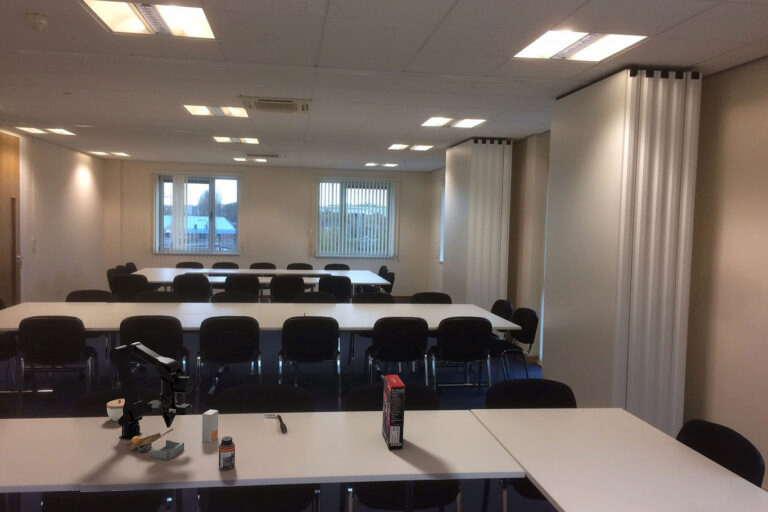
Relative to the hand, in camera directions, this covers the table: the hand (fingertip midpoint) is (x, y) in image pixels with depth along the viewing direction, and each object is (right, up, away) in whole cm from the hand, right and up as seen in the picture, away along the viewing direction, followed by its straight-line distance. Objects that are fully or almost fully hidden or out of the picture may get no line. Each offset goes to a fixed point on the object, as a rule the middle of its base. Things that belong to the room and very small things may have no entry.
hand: (168, 427), depth 215 cm
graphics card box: (+94, -9, +7) cm, 95 cm away
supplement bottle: (+31, -9, -20) cm, 38 cm away
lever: (-5, -4, -4) cm, 8 cm away
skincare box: (+16, -7, +5) cm, 18 cm away
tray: (+4, -7, -10) cm, 13 cm away
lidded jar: (-34, -5, +25) cm, 43 cm away
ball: (-11, -3, -7) cm, 13 cm away
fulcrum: (-6, -7, -8) cm, 12 cm away
